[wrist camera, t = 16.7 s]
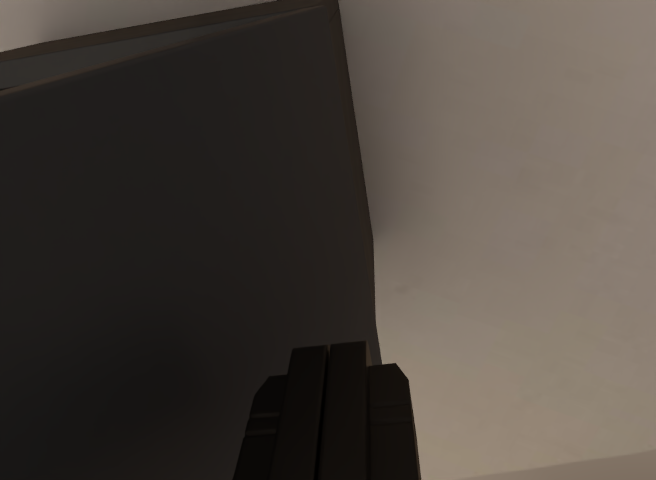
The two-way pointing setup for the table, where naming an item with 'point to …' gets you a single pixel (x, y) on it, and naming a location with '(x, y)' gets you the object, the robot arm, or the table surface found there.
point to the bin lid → (172, 249)
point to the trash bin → (120, 43)
